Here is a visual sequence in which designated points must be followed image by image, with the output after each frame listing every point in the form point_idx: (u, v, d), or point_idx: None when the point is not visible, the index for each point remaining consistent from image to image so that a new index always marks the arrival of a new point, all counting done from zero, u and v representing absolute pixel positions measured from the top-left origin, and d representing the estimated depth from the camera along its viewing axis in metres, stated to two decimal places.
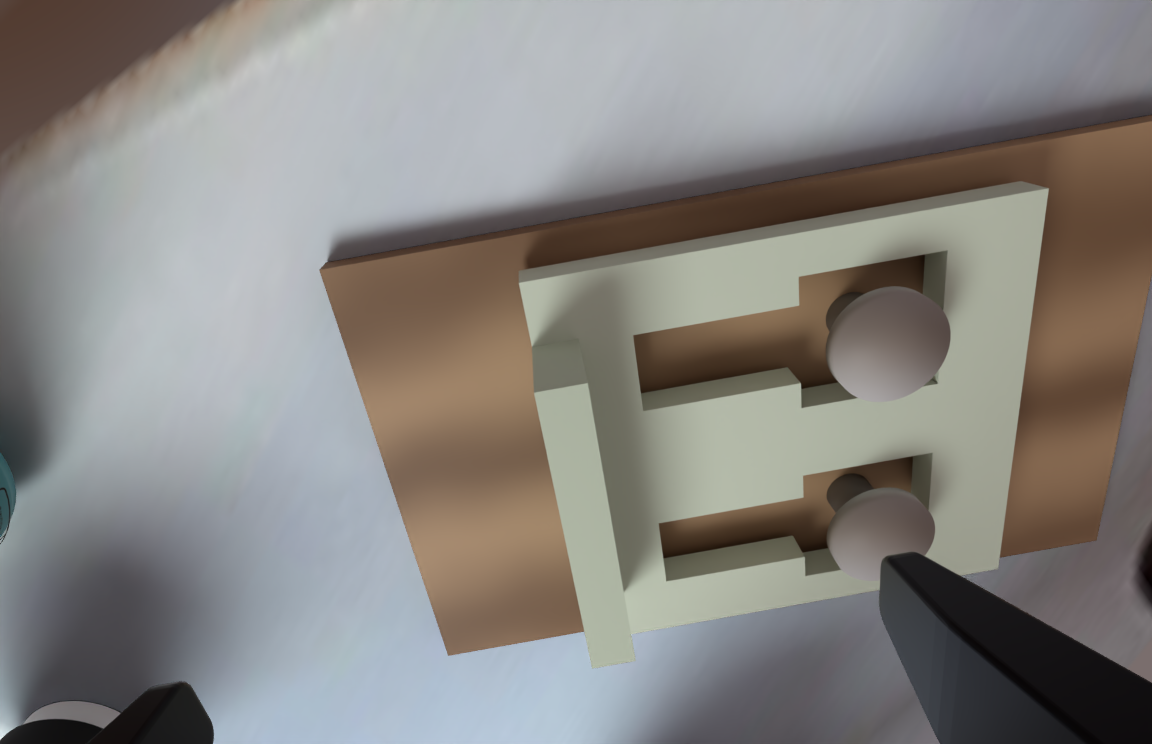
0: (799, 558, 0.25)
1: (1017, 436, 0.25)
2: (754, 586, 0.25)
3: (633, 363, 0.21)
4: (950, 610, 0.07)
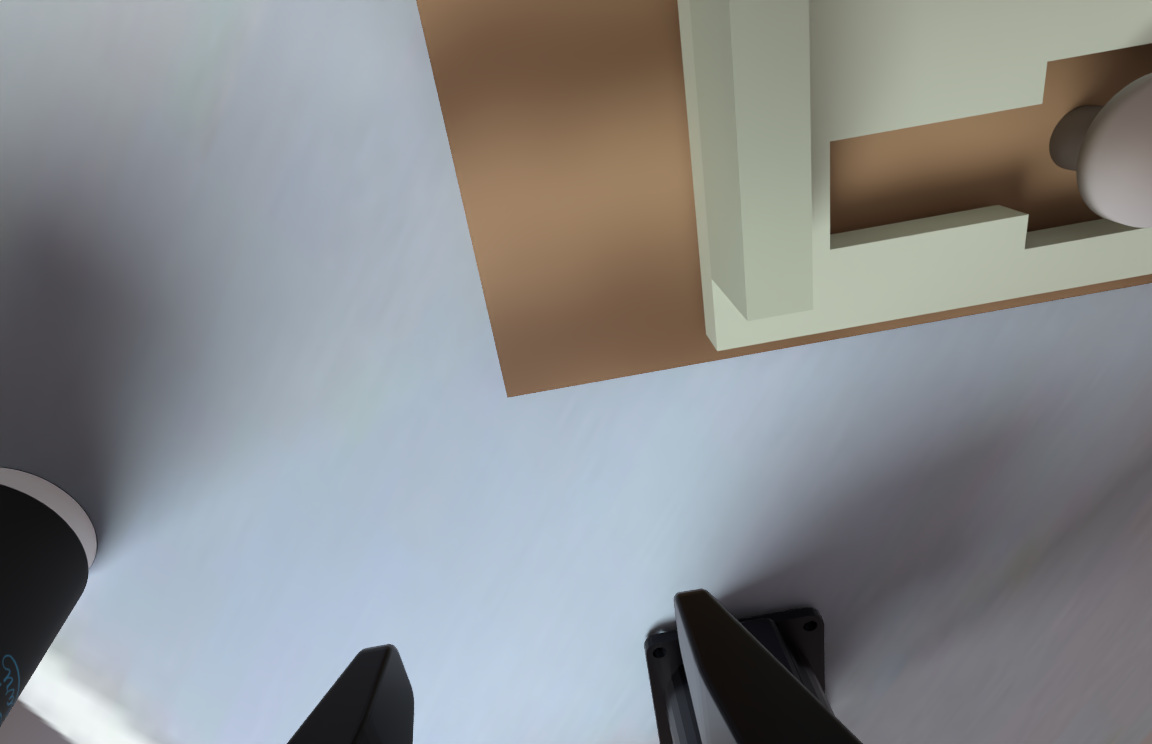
0: (1020, 217, 0.17)
1: None
2: (951, 265, 0.18)
3: None
4: (705, 653, 0.07)
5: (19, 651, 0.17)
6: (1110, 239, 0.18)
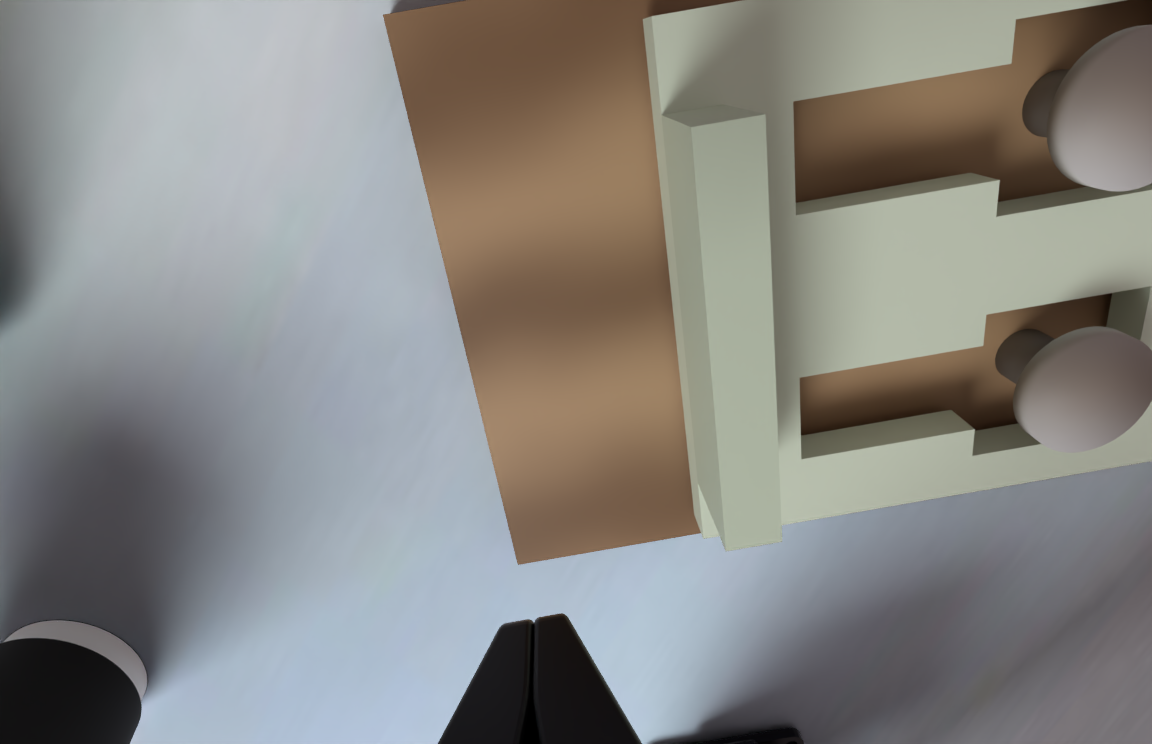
0: (967, 431, 0.20)
1: None
2: (908, 468, 0.20)
3: (789, 144, 0.16)
4: (543, 682, 0.07)
5: None
6: None
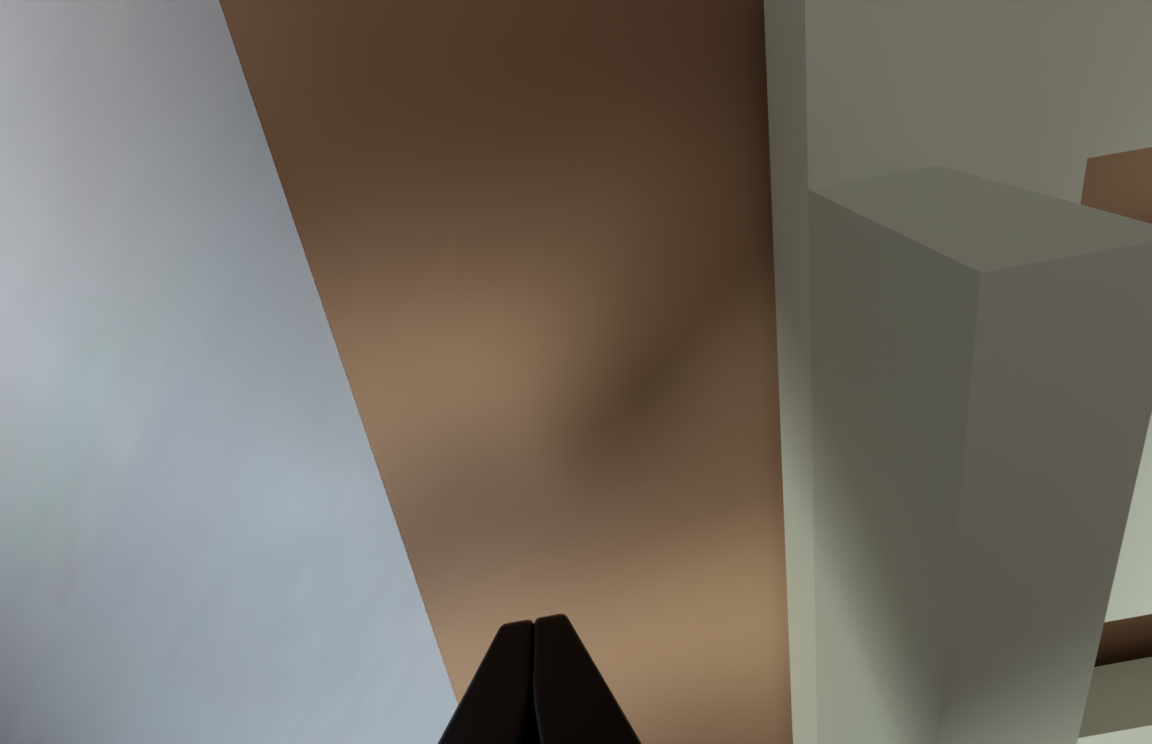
0: None
1: None
2: None
3: None
4: (542, 682, 0.07)
5: None
6: None
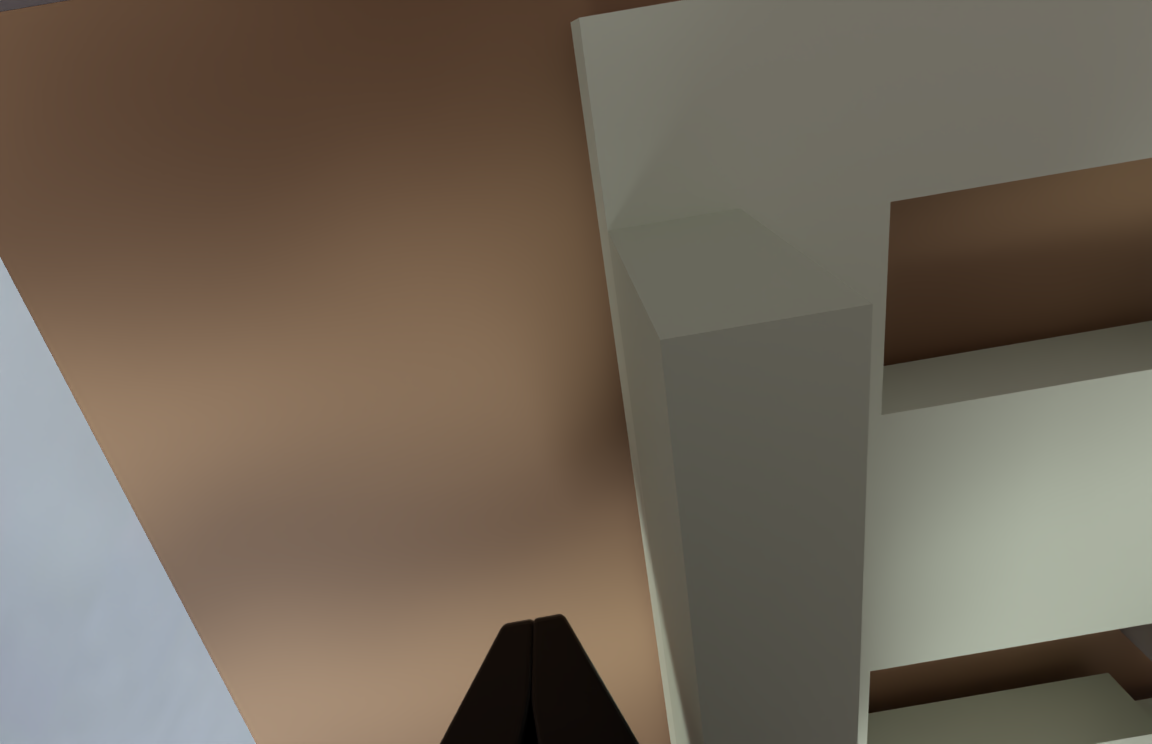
0: (1151, 734, 0.11)
1: None
2: None
3: (878, 285, 0.08)
4: (541, 682, 0.07)
5: None
6: None
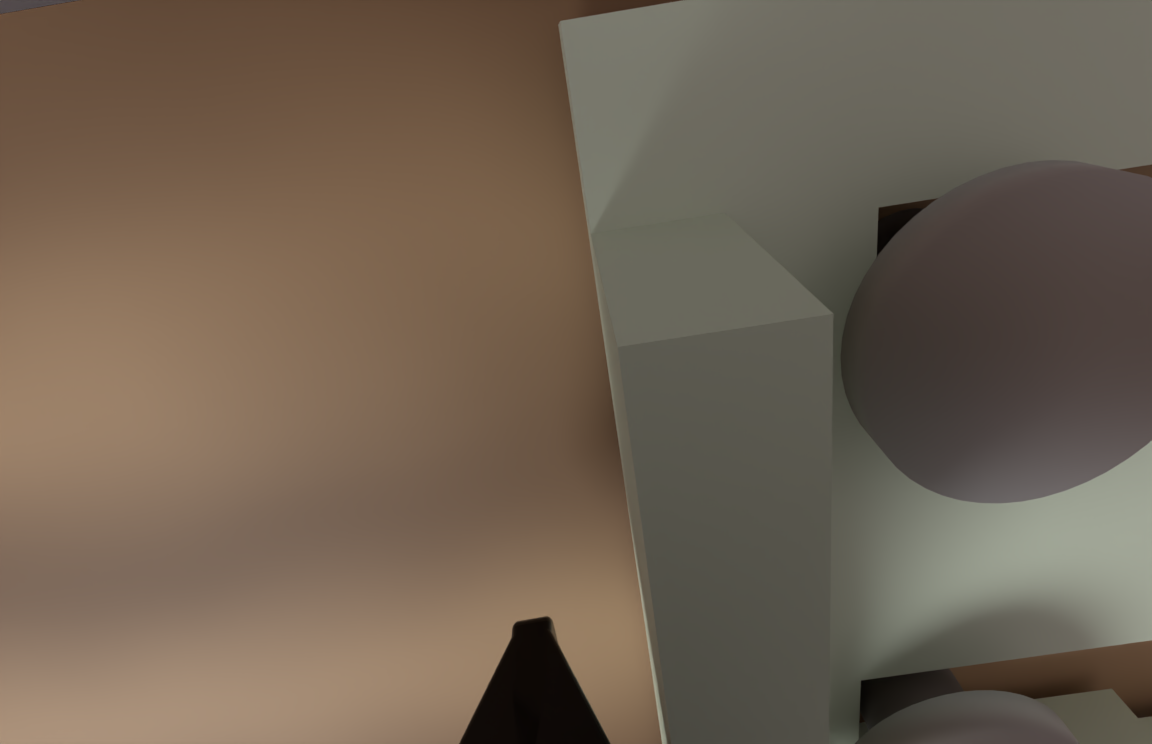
0: None
1: None
2: None
3: None
4: (518, 687, 0.07)
5: None
6: None
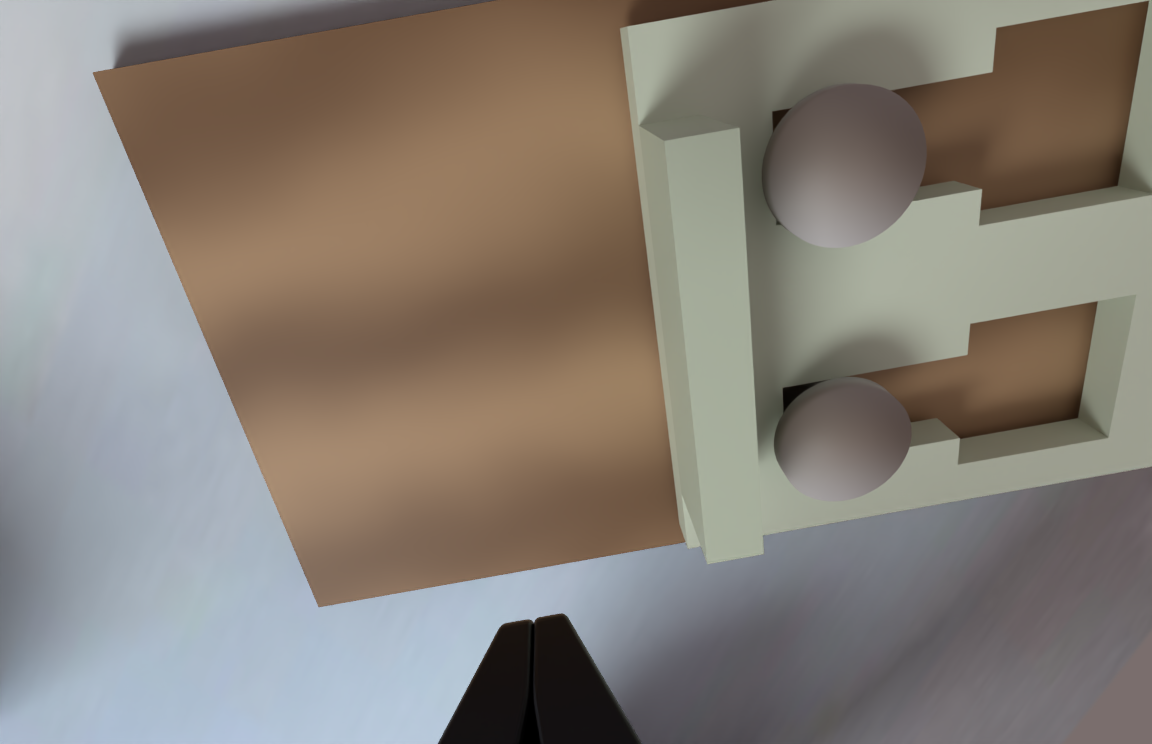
0: (953, 440, 0.20)
1: (1017, 325, 0.20)
2: (893, 478, 0.20)
3: None
4: (543, 682, 0.07)
5: None
6: (1033, 455, 0.20)
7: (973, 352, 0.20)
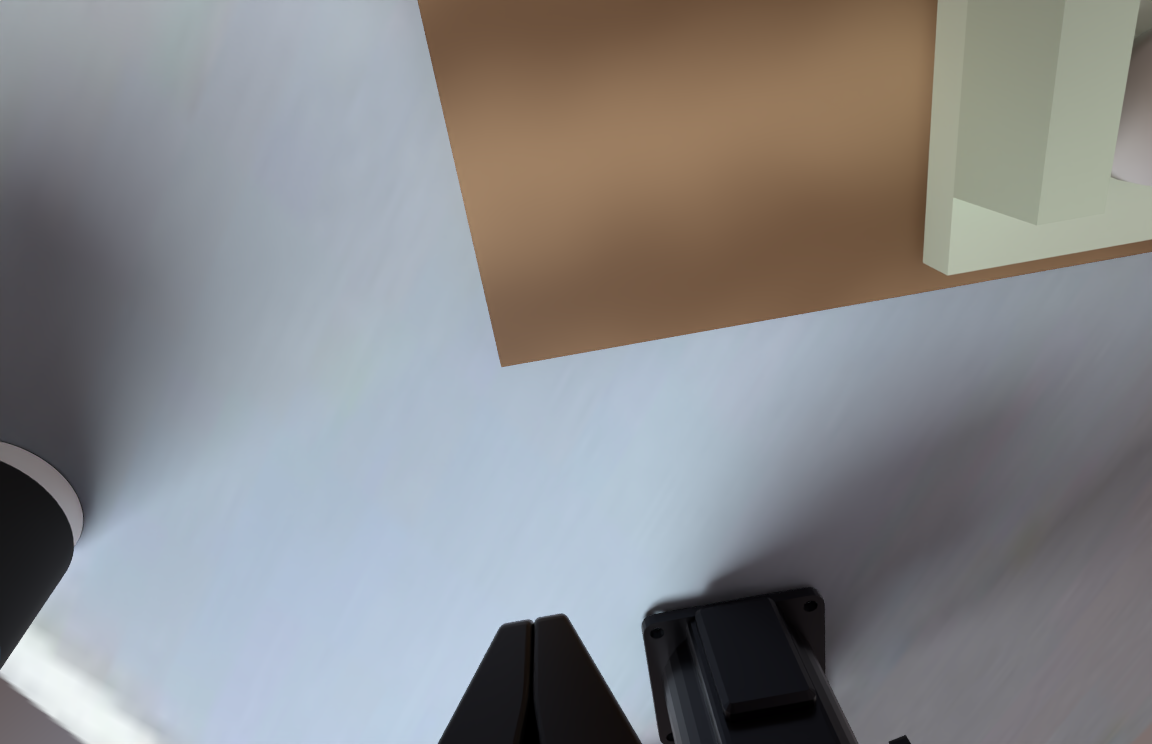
0: None
1: None
2: None
3: None
4: (543, 682, 0.07)
5: None
6: None
7: None
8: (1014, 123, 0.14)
